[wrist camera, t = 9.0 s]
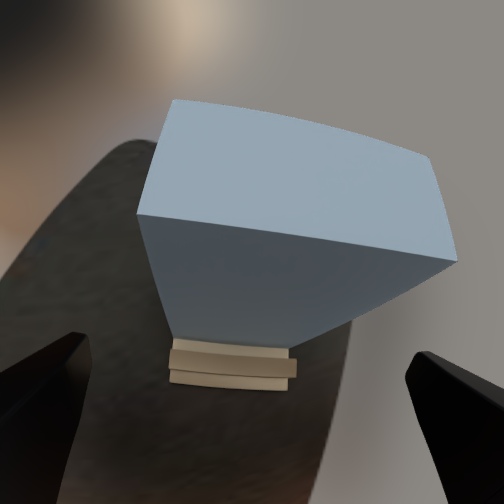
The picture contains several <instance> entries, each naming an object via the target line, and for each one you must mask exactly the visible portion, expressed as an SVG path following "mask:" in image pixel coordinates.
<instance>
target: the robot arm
mask: <svg viewBox="0 0 504 504" xmlns="http://www.w3.org/2000/svg"><path fill="white" fill-rule="evenodd" d="M91 369H92V357H91V351H90V345H89V339H88V336H87V335H86V334H83V333H77V332H71V333H69V334H67V335H65V336H63V337H61V338H60V339H58V340H56V341H54V342H53V343H51V344H49V345H47V346H46V347H44V348H42V349H40V350H39V351H37V352H35V353H33V354H32V355H30V356H28V357H26V358H25V359H23V360H21V361H19V362H18V363H16V364H14V365H12V366H11V367H9V368H7V369H5V370H4V371H2V372H0V504H56V502H57V498H58V494H59V490H60V486H61V482H62V478H63V475H64V471H65V467H66V464H67V460H68V457H69V454H70V450H71V447H72V444H73V440H74V437H75V434H76V431H77V428H78V425H79V421H80V418H81V413H82V409H83V404H84V399H85V395H86V390H87V386H88V382H89V377H90V373H91ZM405 381H406V384H407V387H408V390H409V393H410V397H411V400H412V403H413V406H414V410H415V413H416V416H417V419H418V422H419V425H420V427H421V430H422V432H423V435H424V437H425V440H426V442H427V445H428V447H429V450H430V453H431V455H432V458H433V461H434V463H435V466H436V469H437V472H438V474H439V477H440V480H441V483H442V486H443V489H444V492H445V495H446V498H447V501H448V504H504V389H503V388H501V387H498V386H496V385H495V384H493V383H491V382H489V381H487V380H485V379H483V378H481V377H479V376H477V375H475V374H473V373H471V372H469V371H467V370H465V369H463V368H461V367H459V366H457V365H455V364H453V363H451V362H449V361H447V360H445V359H443V358H441V357H439V356H437V355H435V354H433V353H431V352H429V351H422V352H417V353H416V354H415V356H414V358H413V360H412V362H411V364H410V366H409V368H408V370H407V371H406V375H405Z"/></svg>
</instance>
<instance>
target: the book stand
mask: <svg viewBox="0 0 504 504" xmlns="http://www.w3.org/2000/svg"><path fill="white" fill-rule="evenodd" d="M288 352H289V349H283V348H266V347H252V346H240V345H229V344H219V343H209V342H200V341H191V340H183V339H175V338H174V339H173V349H170V359H169V369H170V382H172V383H180V384H189V385H198V386H209V387H221V388H235V389H253V390H287V385H288V378H295V377H296V366H297V359H288Z"/></svg>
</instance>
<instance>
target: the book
mask: <svg viewBox="0 0 504 504" xmlns="http://www.w3.org/2000/svg"><path fill="white" fill-rule="evenodd" d="M137 217H138V221H139V225H140V229H141V233H142V237H143V241H144V244H145V248H146V252H147V255H148V259H149V262H150V266H151V269H152V273H153V276H154V280H155V283H156V286H157V290H158V293H159V296H160V299H161V302H162V306H163V309H164V312H165V315H166V318H167V321H168V324H169V327H170V330H171V333H172V336H173V338H175V339H183V340H191V341H200V342H209V343H219V344H229V345H240V346H252V347H266V348H283V349H289V348H292V347H294V346H296V345H298V344H301V343H303V342H305V341H308V340H310V339H312V338H314V337H316V336H319V335H321V334H323V333H325V332H327V331H330V330H332V329H334V328H336V327H338V326H340V325H342V324H344V323H346V322H348V321H350V320H353V319H355V318H356V317H359V316H360V315H363V314H364V313H367V312H368V311H370V310H372V309H374V308H376V307H378V306H380V305H382V304H384V303H386V302H388V301H390V300H392V299H393V298H395V297H397V296H399V295H400V294H403V293H404V292H406V291H408V290H410V289H411V288H413V287H415V286H417V285H419V284H420V283H422V282H424V281H426V280H427V279H429V278H431V277H433V276H434V275H436V274H438V273H439V272H441V271H443V270H444V269H446V268H448V267H449V266H451V265H453V264H454V263H456V262H458V260H457V255H456V250H455V246H454V241H453V237H452V233H451V229H450V225H449V221H448V217H447V214H446V210H445V207H444V203H443V200H442V196H441V193H440V190H439V187H438V184H437V180H436V177H435V174H434V171H433V168H432V166H431V163H430V160H429V157H426V156H424V155H421V154H418V153H416V152H413V151H410V150H407V149H404V148H401V147H398V146H396V145H392V144H389V143H386V142H383V141H380V140H377V139H374V138H371V137H367V136H364V135H360V134H357V133H353V132H349V131H346V130H343V129H339V128H335V127H331V126H327V125H323V124H319V123H315V122H311V121H307V120H302V119H298V118H293V117H289V116H283V115H279V114H274V113H269V112H263V111H258V110H252V109H246V108H240V107H234V106H227V105H220V104H212V103H205V102H196V101H187V100H176V99H173V102H172V105H171V107H170V110H169V113H168V115H167V118H166V121H165V124H164V127H163V130H162V132H161V135H160V138H159V141H158V144H157V147H156V150H155V153H154V156H153V159H152V163H151V166H150V169H149V172H148V176H147V179H146V182H145V186H144V189H143V193H142V196H141V200H140V204H139V207H138V211H137Z"/></svg>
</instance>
